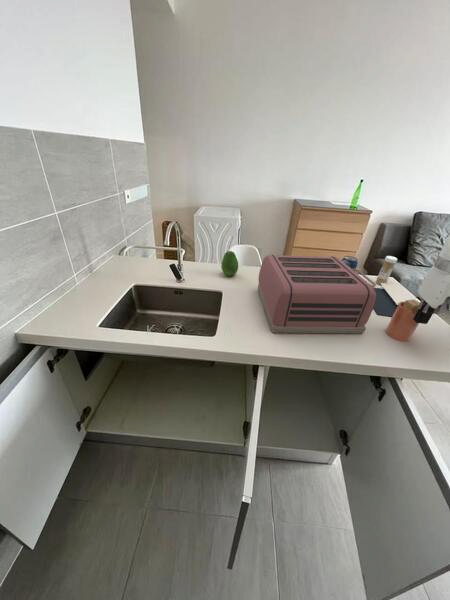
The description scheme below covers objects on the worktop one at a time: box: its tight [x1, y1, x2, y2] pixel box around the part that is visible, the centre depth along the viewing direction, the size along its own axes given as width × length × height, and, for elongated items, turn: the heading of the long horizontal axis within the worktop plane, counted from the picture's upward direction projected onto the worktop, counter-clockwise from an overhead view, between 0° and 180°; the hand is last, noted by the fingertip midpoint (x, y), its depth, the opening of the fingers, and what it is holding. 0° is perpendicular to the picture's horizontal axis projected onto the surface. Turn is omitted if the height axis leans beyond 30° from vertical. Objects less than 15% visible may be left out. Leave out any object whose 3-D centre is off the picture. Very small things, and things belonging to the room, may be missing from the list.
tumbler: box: [385, 301, 420, 342], centre depth 81 cm, size 7×7×11 cm
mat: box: [373, 287, 398, 318], centre depth 102 cm, size 16×24×1 cm, turn 169°
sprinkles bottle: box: [375, 255, 398, 286], centre depth 113 cm, size 5×5×13 cm
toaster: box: [257, 254, 377, 334], centre depth 90 cm, size 30×36×17 cm
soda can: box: [340, 255, 359, 269], centre depth 114 cm, size 7×7×12 cm
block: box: [402, 299, 420, 313], centre depth 78 cm, size 3×3×3 cm
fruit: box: [220, 250, 239, 277], centre depth 113 cm, size 8×8×12 cm
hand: (419, 321), depth 73 cm, fingers closed
